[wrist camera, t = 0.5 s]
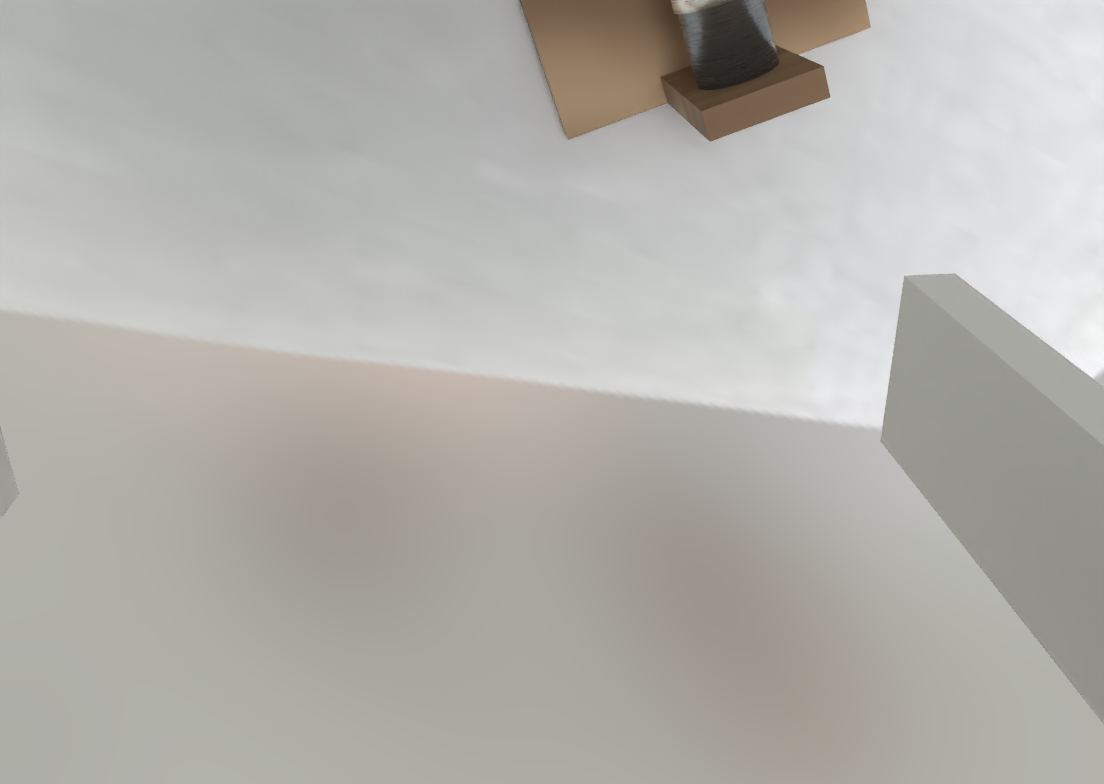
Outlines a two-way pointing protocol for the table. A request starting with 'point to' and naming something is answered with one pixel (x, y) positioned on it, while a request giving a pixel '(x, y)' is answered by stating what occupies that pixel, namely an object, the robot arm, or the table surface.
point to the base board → (675, 62)
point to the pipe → (727, 40)
